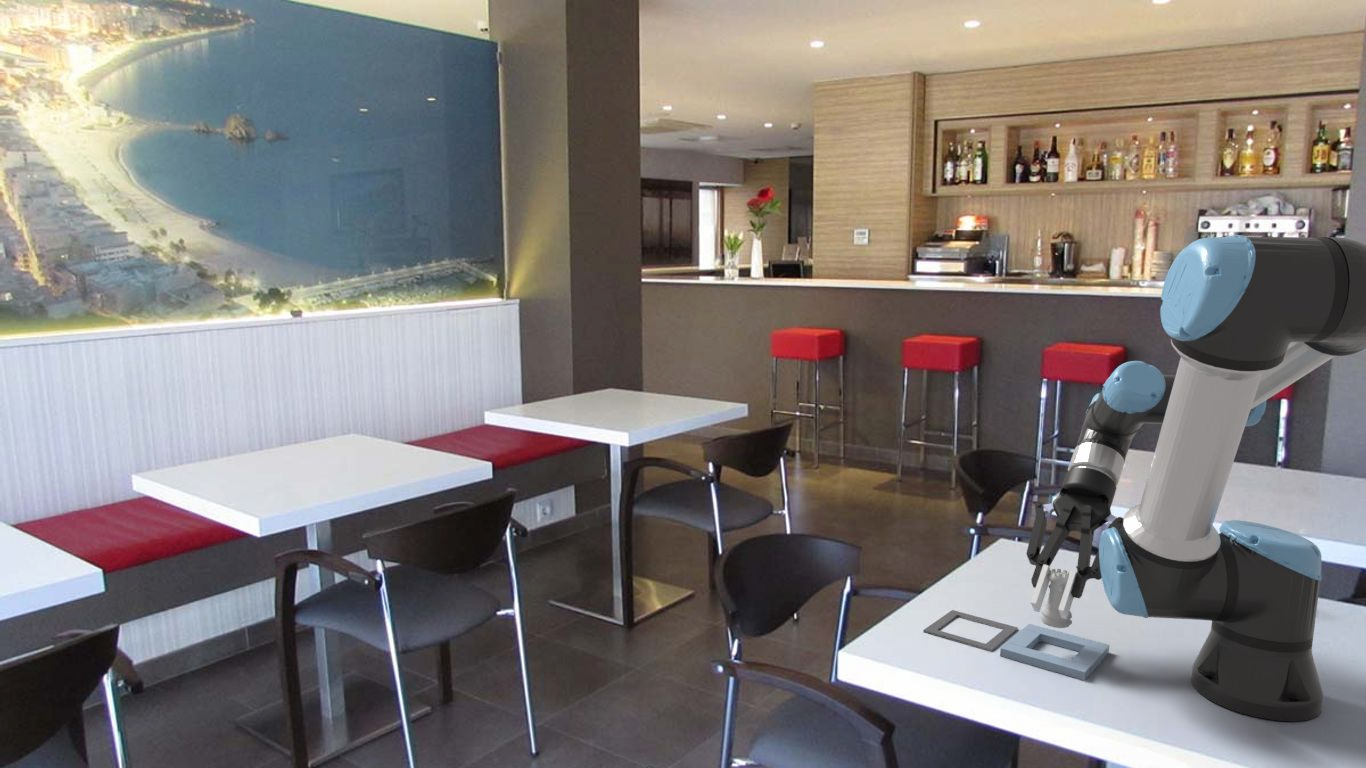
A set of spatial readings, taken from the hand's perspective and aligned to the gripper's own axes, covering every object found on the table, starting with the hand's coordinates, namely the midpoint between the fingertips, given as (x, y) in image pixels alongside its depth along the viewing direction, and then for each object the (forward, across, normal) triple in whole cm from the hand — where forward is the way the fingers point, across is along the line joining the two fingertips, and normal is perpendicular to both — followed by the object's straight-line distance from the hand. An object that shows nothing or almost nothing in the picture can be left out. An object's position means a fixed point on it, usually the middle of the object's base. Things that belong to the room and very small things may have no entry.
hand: (1048, 610), depth 134 cm
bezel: (+3, +13, -8) cm, 15 cm away
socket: (+3, 0, -8) cm, 8 cm away
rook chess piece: (0, 0, -5) cm, 5 cm away
